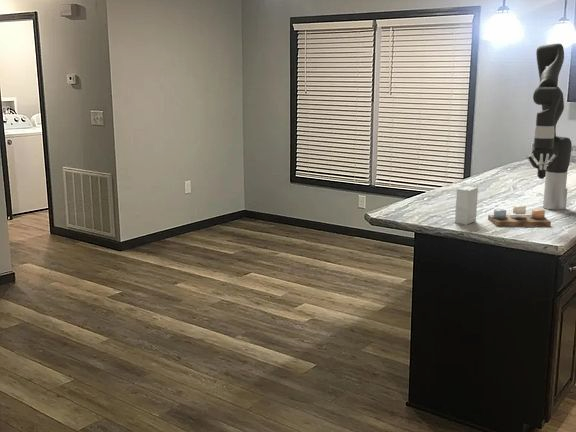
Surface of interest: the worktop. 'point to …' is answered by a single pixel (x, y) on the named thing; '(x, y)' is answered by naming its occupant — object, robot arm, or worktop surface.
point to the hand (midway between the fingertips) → (541, 178)
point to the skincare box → (466, 205)
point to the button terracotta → (538, 213)
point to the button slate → (499, 213)
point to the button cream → (519, 209)
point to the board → (519, 221)
